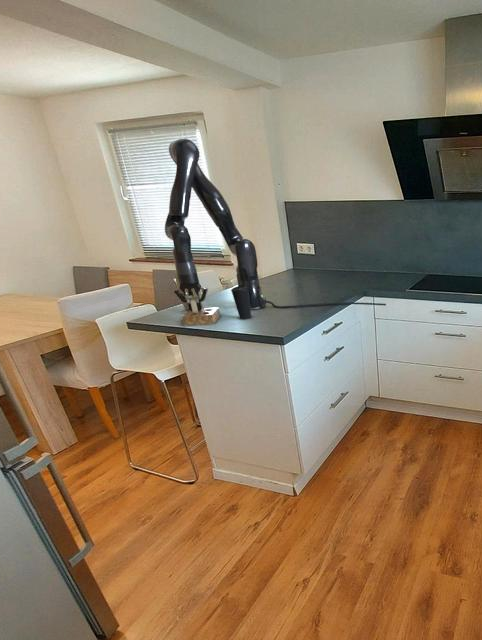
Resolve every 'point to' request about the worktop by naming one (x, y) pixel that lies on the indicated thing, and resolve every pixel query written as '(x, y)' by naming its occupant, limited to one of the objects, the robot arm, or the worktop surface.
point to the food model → (185, 294)
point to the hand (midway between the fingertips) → (196, 310)
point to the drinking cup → (242, 300)
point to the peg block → (201, 316)
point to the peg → (194, 305)
